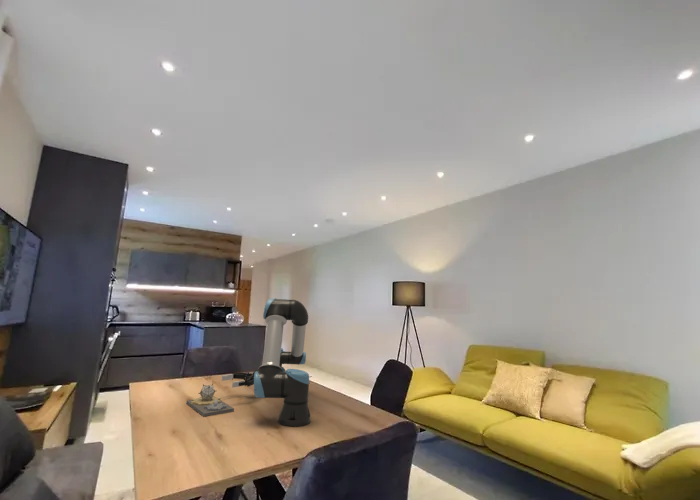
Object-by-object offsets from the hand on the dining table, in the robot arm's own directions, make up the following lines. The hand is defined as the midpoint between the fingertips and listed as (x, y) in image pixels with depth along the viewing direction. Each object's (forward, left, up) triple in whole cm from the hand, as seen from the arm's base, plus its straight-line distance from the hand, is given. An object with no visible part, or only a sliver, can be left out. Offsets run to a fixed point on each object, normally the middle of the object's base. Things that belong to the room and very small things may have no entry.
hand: (227, 381), depth 185 cm
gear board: (-5, +10, -11) cm, 16 cm away
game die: (0, +10, -9) cm, 13 cm away
